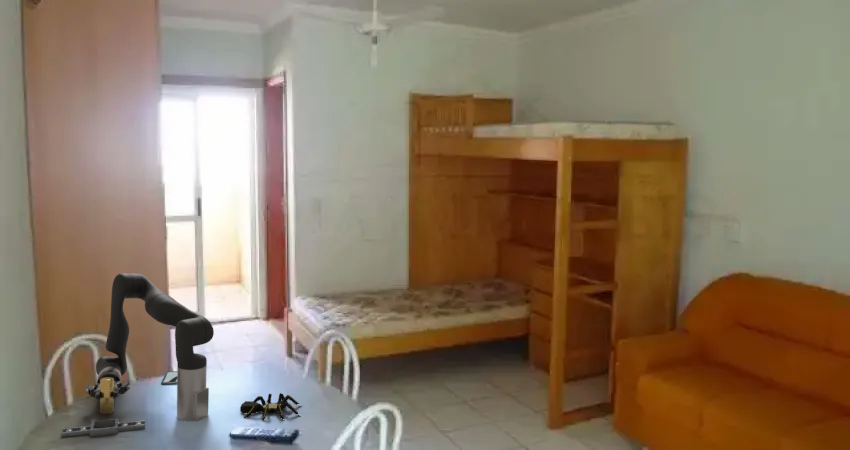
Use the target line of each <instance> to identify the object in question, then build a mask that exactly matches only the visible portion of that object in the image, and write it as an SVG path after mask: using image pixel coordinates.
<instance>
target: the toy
mask: <svg viewBox="0 0 850 450" xmlns="http://www.w3.org/2000/svg"><path fill="white" fill-rule="evenodd" d="M288 400H289V401H291V402H292V403H293V404H294V405H296V406H297V404H300V402H299V401H297V400H295V398H293V397H292V396H291V395H289V394H287V395H286V396H285V395H284V394H283V393H279V395H278V401H277V402H272V393H268V397H267V400H265V399H264V397H263V396H262V395H261V396H260V395H258V396H257V397H256V398H255V399H254V400H253V401H249V400H248V401H246V400H245V401H244V402H243V403H241V405H240V407H239V408H240V409H239V410H240V413H242V414H244V413H247V414H245V415H244V417H243V419H247V418H249V417H251V416H252V415H253V413H255V414H257V413H256V412H259V413H263V415H262V418H261V421H262V420H264V419H265V420H266V418H267V414H269V415H270V414H271V413H272V414H277V413H278V415H279V418H280V419H281V418H282V419H285V416H284V412H283V411H284V410H285V408H286V407H287V408H288V409H289V410H291V411H292V412H293V413H294V414H295V415H296V414H298V413H299V412H298V411H297V410H296V409H295V407H294V406H293V405H292V404H291V403H290V402H289V401H288ZM259 402H261V403H259ZM267 402H268V403H267ZM246 417H247V418H246ZM282 419H281V420H282ZM265 420H264V421H265Z"/></svg>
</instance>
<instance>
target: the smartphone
mask: <svg viewBox="0 0 850 450" xmlns="http://www.w3.org/2000/svg"><path fill="white" fill-rule="evenodd" d="M160 385H163V386H167V385H169V386H170V385H177V370H176V371H175V370H174V371H166V372H165V373H164V376H163V378H162V380H161V382H160Z"/></svg>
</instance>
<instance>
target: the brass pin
mask: <svg viewBox="0 0 850 450" xmlns="http://www.w3.org/2000/svg"><path fill="white" fill-rule="evenodd" d="M113 390H114V378H112V377H106V378H102V379H100V400H99V402H100V403H99V405H100V406H99V407H100V414H105V415H106V414H111V413H114V411H115V402H114V401H115V399H113Z"/></svg>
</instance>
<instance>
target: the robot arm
mask: <svg viewBox="0 0 850 450" xmlns="http://www.w3.org/2000/svg"><path fill="white" fill-rule="evenodd" d="M111 285H112V287H111V298H110V299H111V301H110V321H109V326H108V327H109V328H108V331H107V332H108V333H107V339H106V342H105V349H106V351H107V352H110V353H113V354H114V355H116V356H110V355H103V356H101V357H98V359H97V361H96V363H95V371H96V374H97V381H96V383H95V384H94V385H91V384H86V386H85V389H86V390H85V391H86V394H87V395H88V396H89V397H90V398H94V397H95V399H96V400H97V401H100V379H102V378H106V377H112V378H114V390H113V399H114V400H116V398H118V397H119V394H120V395H124V394H125V393H127V392H128V391H129V390H130V381H126V382H123V383H122V376H124V375H125V374H126V372H127V369H128V363H127V352H126V351H127V346H128V345H127V344H128V341H129V335H130V325H129V323H128V320H127V318H126V315H125V312H124V303H125V299H138V300H139V299H140V300H142V301H144V309H145V311H146V313H147V314H148V315H149V316H150V317H151V318H152V319H154V320H155V321H156V322H158V323H160V324H162V325H166V326H170V327H171V326H172V327H175V329H174V340H175V341H174V342H175V344H174V345H175V358H176V362H177V363H176V364H177V365H176V366H177V368H176V369H177V370H176V371H177V384H176V418H177V419H178V420H181V421H195V422H197V421H198V420H200V419H204V418H205V417H208V416H209V401H210V400H209V398H210V397H209V387H207V363H208V362H207V361H208V359H207V357H206V356H205V355H203V354H200V353H195V352H194V347H198V346H200V345H205V344H207V343H209V342H211V341H212V340H213V338H214V333H215V332H214V331H215V330H214V327H213V325H212V323H211V321H210V320H209V319H208V318H206V317H205V316H203V315H200V314H198V313H197V312H195V311H194V310H191V309H189V308H187V307H186V306H184V305H183V304H181V303H180V302H178V301H177V300H176V299H175V298H173V296H172V297H171V296H170V295H169V294H167V293H166V292H164V291H162V289H160V288H158V287H157V286H156V285H155V284H153V282H152V281H151V280H149V278H147V277H146V276H145V275H144V274H142V273H134V272H133V273H131V272H130V273H128V272H127V273H125V272H124V273H123V272H122V273H118V274H117V275H116V276H115V277H114V278H113V281H112V284H111Z"/></svg>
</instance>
